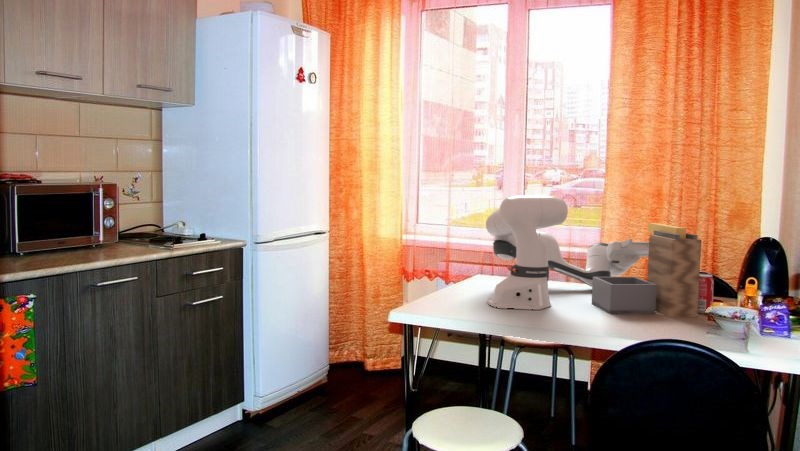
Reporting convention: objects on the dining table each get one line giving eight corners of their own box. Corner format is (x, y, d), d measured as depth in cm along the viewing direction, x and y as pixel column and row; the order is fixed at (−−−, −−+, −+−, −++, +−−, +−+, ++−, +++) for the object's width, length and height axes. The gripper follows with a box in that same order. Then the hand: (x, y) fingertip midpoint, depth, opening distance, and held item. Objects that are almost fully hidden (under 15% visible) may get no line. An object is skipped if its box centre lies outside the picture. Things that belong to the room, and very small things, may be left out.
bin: (609, 313, 215) (611, 284, 215) (591, 303, 231) (592, 276, 230) (655, 313, 217) (656, 284, 216) (634, 303, 233) (635, 276, 232)
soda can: (714, 314, 217) (717, 277, 216) (692, 313, 219) (694, 275, 218) (709, 310, 224) (711, 273, 223) (687, 309, 226) (689, 272, 224)
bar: (675, 238, 214) (676, 227, 214) (647, 232, 234) (648, 223, 234) (685, 238, 214) (686, 228, 214) (656, 232, 234) (657, 223, 234)
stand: (668, 317, 212) (672, 235, 210) (645, 306, 228) (649, 230, 226) (696, 317, 213) (701, 235, 211) (672, 306, 229) (676, 230, 226)
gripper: (654, 262, 254) (670, 248, 242) (604, 261, 252) (618, 248, 240) (651, 247, 257) (667, 233, 244) (602, 247, 255) (615, 233, 243)
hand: (642, 240), depth 242 cm, fingers open, 8 cm apart
